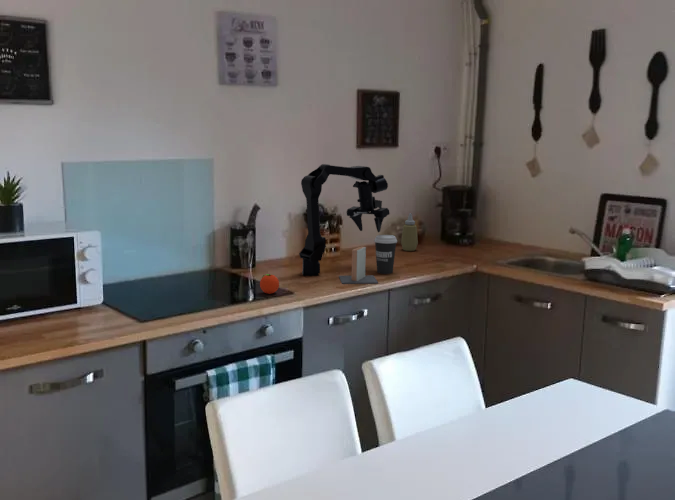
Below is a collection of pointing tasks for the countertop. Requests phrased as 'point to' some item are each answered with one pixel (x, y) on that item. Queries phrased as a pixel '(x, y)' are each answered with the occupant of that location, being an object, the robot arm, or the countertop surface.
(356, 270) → the tile
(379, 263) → the coffee cup
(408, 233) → the squeeze bottle
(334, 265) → the countertop surface
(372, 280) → the mat
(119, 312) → the countertop surface
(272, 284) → the clementine
